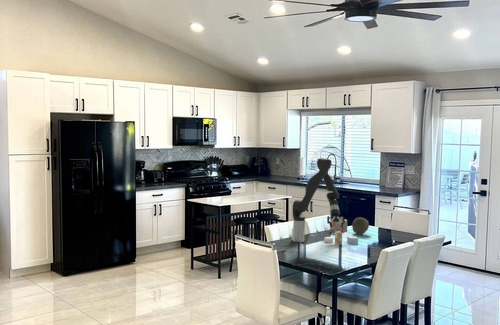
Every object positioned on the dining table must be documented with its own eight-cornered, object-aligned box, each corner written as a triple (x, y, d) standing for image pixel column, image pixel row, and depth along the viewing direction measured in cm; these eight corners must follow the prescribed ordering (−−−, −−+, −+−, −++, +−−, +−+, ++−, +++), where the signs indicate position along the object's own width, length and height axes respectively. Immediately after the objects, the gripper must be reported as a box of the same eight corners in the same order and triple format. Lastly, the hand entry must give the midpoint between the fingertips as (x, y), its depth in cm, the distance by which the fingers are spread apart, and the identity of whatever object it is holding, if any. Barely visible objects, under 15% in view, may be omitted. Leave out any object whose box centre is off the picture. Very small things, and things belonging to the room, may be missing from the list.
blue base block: (349, 244, 382) (349, 238, 382) (347, 242, 389) (347, 236, 389) (357, 244, 383) (358, 238, 383) (355, 242, 390) (355, 236, 389)
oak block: (335, 244, 379) (336, 232, 378) (334, 243, 383) (335, 231, 383) (341, 244, 379) (341, 232, 378) (340, 243, 383) (340, 231, 383)
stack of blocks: (341, 228, 445) (341, 215, 445) (347, 229, 441) (347, 216, 441) (329, 232, 429) (330, 218, 428) (335, 233, 425) (336, 219, 424)
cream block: (324, 241, 389) (324, 237, 389) (328, 241, 392) (328, 236, 392) (328, 243, 385) (329, 238, 385) (332, 242, 388) (333, 237, 388)
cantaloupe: (360, 236, 413) (361, 219, 412) (348, 233, 424) (349, 216, 424) (371, 235, 420) (372, 218, 419) (359, 232, 432) (360, 215, 431)
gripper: (326, 208, 396) (328, 224, 385) (344, 208, 396) (346, 225, 385) (325, 213, 402) (327, 229, 391) (342, 214, 402) (344, 230, 391)
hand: (336, 227), depth 388 cm, fingers open, 8 cm apart
